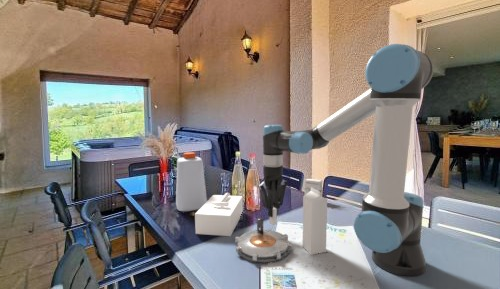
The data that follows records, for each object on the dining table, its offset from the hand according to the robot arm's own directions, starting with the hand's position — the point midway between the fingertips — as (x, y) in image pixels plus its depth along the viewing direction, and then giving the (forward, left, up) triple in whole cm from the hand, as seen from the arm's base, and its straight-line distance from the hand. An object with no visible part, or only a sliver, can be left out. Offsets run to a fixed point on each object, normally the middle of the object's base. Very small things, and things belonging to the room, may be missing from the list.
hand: (273, 223), depth 108 cm
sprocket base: (-7, +9, -5) cm, 13 cm away
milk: (-17, -6, -5) cm, 19 cm away
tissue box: (+22, +13, -5) cm, 26 cm away
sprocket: (-7, +9, -3) cm, 12 cm away
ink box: (+22, -42, -5) cm, 47 cm away
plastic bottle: (+49, +17, -5) cm, 52 cm away
